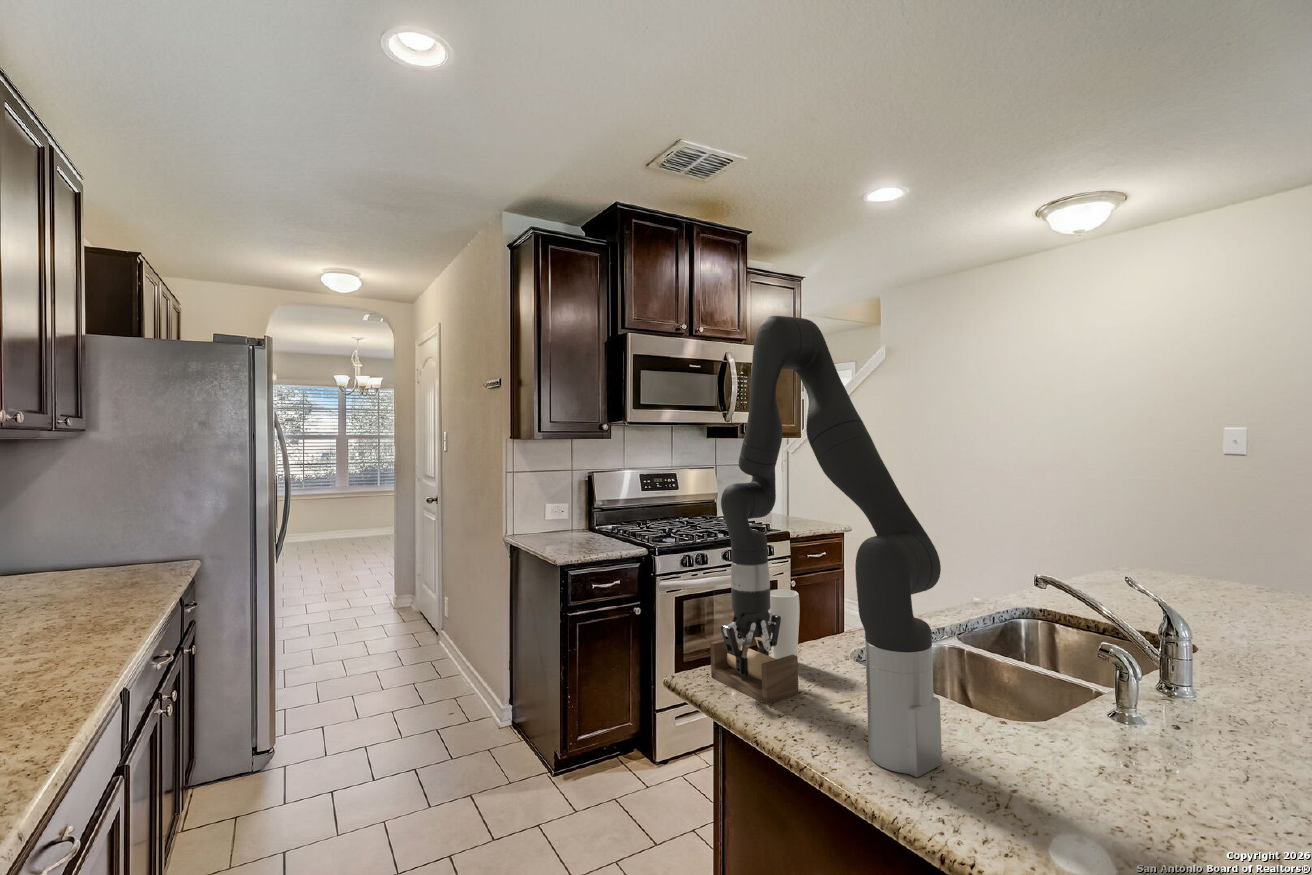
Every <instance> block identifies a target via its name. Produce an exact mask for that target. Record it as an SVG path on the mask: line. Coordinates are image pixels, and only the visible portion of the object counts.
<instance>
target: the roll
mask: <svg viewBox="0 0 1312 875" xmlns="http://www.w3.org/2000/svg"><path fill="white" fill-rule="evenodd" d="M741 650H742V646H741ZM773 660H776V659H775V658H772V656H770V655H769V656H767V655H765V654H762V653H760V652H757V650H754V649H752V648H750V647H748V652H747V661H748V674H749V675H751V676H753V677H755V678H757V679H760V680H762V666H761V664H763V663H766V662H769V661H773ZM727 662H728V664H729V665H730V666H731V667H733V668H735V669H736V657H735V656H733V655H731V654H728V653H727Z"/></svg>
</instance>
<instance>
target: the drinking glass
mask: <svg viewBox="0 0 1312 875" xmlns="http://www.w3.org/2000/svg"><path fill="white" fill-rule="evenodd" d="M770 604H771V607H770V609H769V610H768V612H769V614H770V613H772V614H775V615H778V616H780V617H781V622H780V628H779V634H778V641H777V645H776V646H772V647H771V649H770V651H771V657H772V658H775V659H779V658H783V657H786V656H789V655H796V656H798V650H799V649H798V648H799V629H800V628H799V627H800V611H801V609H800V596H799V593H798V592H797V591H796V590H793V589H792V590H791V589H783V588H782V589H770ZM771 639H772V633H771ZM798 657H799V656H798Z"/></svg>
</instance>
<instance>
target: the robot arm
mask: <svg viewBox="0 0 1312 875" xmlns="http://www.w3.org/2000/svg"><path fill="white" fill-rule="evenodd" d="M751 359H752V360H751V361H752V362H751V372H750V373H751V376H750V388H749V389H750V390H749V391H750V392H749V406H748V416H747V421H746V427H745V433H744V435H743V436H744V437H743V441H742V443H741V444H742V445H741V449H740V453H739V457H738V466H739V469H740V470H741V472H743V473H744V474H747V475H748V476H751V481H750V482H742V483H741V482H740V483H733V484H732V483H731V484H728V485H727V486H726V487H725V488H724V490H723V491H722V494H721V498H720V507H721V512H722V515H723V518H724V521H725V525H726V530H727V533H728V536H729V540H730V544H731V545H730V547H731V548H730V550H731V551H730V552H731V567H730V568H731V569H730V591H731V592H730V593H731V594H730V595H731V596H730V597H731V608H732V610H733V617H732V622H730V623H729V624H727V625H726V624H722V625H721V626H720V630H721V635H722V638H723V639H724V643H725V647H726V651H727V653H728V654H731V655H733V656H735V657H736V671H737V673H738V674H739V675H740V676H742V677H747V676H748V661H747V652H748V648H750V647H751V645H752V641H753V639H754V640H755V642H756V645H757V648H758V649H756V651H757V652H760V653H762V654H765V655H767V656H770V655H769V654H770V651H771V647H772V646H776V645H777V641H778V634H779V628H780V622H781V617H780V616H778V615H775V614H772V613H770V614H769V612H768V610H769V609H770V607H771V604H770V591H771V582H770V581H771V580H770V579H771V577H770V576H771V575H770V569H769V568H770V567H769V557H768V556H769V555H768V554H769V553H768V552H769V551H768V538H767V535H766V534H765V533H764V532H763V531H761V530H756V529H752V528H751V525H750V522H749V519H760V518H764V517H766V516H769V514H771V512H772V511H773V509H774V507H775V505H776V504H775V503H776V498H777V493H776V492H777V490H776V465H777V461H778V458H779V454H780V450H781V448H782V447H781V446H782V441H783V423H782V418H781V415H780V411H779V407H778V403H777V385H778V381H779V378H780V375H781V372H782V369H783V370H793V371H794V372H796V374H797V375H798V377H799V378H800V381H801V383H802V385H803V387H804V389H805V392H806V395H807V397H808V398H807V400H808V408H807V415H806V437H807V440H808V443H809V446H810V448H811V449H812V453H814V456H815V458H816V461H817V462H818V465H819V467H820V468H821V470H822V472H823V474H825V476H826V477H827V478H828V479H829V481H831V483H832V484H833V485H834V486H835V487H837V489H839V490H840V491H841V492H842V493H843V494H844V495H845V496H847V498H849V500H851V501H852V502H853V503H854V504H855V505H856V506H857V507H858V508H859V509H860V510H861V511H862V513H863V514H864V516H866V518H867V520H868V522H869V523H870V525H871V527H872V529H873V530H874V533H875V534H876V535H875V536H871V537H867V538H866V539H865V540H864V541H863V542H861V543H860V546H858V549H857V553H856V556H855V568H854V569H855V584H856V585H855V586H856V596H857V607H858V615H859V618H860V622H861V624H862V627H863V629H864V636H865V637H864V638H865V639H864V640H865V643H864V644H865V647H864V648H865V676H866V677H865V680H866V701H867V702H866V707H867V709H866V710H867V712H866V713H867V734H868V735H867V736H868V738H867V739H868V755H869V757H870V759H871V760H872V761H873V762H874V763H875V764H877V765H878V766H879V767H881V768H883V769H886V770H889V771H892V772H895V773H899V774H906V775H910V776H913V777H915V778H919V777H921V776H923V775H925V774H927V773H928V772H931V771H932V770H934V769H936V768H937V767H939V766H941V765H942V764H943V754H942V748H943V747H942V725H941V724H942V723H941V722H942V721H941V719H942V718H941V716H942V715H941V701H940V699H939V697H936V696H934V674H933V671H934V670H933V669H934V668H933V665H934V664H933V637H932V629H931V626H930V625H929V623H927V622H926V621H924V620H922V619H921V618H918V617H915V616H914V611H913V602H912V595H915V594H919V593H923V592H927V591H928V590H930V589H932V588H934V587H935V586H936V585H937V583H938V581H939V580H940V576H941V570H942V566H941V560H940V557H939V553H938V551H937V549H936V546H935V545H934V542H933V541H932V539H931V538H930V536H929V535H928V533H927V532H926V531H925V528H924V527H923V525H922V524H921V523H920V522H919V520H918V518H917V517H916V516H915V514H914V512H913V511H912V510H911V508H910V507H909V505H908V504H907V502H906V500H905V499H904V497H903V496H902V494H901V492H900V490H899V488H898V487H897V484H896V483H895V481H894V479H893V477H892V475H891V474H890V471H889V470H888V468H887V466H886V464H885V463H884V461H883V459H882V457H881V455H880V453H879V451H878V449H877V448H876V445H875V443H874V440H873V439H872V436H871V434H870V433H869V431H868V429H867V428H866V427H867V426H866V425H865V424H864V421H863V420H862V418H861V416H860V414H859V413H858V411H857V409H856V408H855V405H854V403H853V402H852V400H851V397H850V395H849V393H848V391H847V389H846V387H845V385H844V384H843V382H842V379H841V378H840V377H841V376H840V375H839V372H838V371H837V368H836V365H835V362H834V360H833V358H832V355H831V353H830V350H829V346H828V344H827V342H826V339H825V337H824V335H823V333H822V331H821V329H820V328H819V326H818V325H817V324H816V323H815V322H813V321H812V320H811V319H807V318H802V317H795V316H794V317H793V316H784V315H771V316H768V317H766V318H765V319H763V321H761V323H760V325H758V328H757V331H756V333H755V337H754V342H753V349H752V358H751ZM771 633H772V639H771ZM742 637H743V638H744V640H743V639H742ZM741 646H742V650H741Z"/></svg>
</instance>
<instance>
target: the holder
mask: <svg viewBox="0 0 1312 875" xmlns="http://www.w3.org/2000/svg"><path fill="white" fill-rule="evenodd" d="M742 639H743V640H745V638H743V637H742ZM709 645H710V670H711V671H710V672H711V675H710V676H711V678H713V679H714V680H717V681H719V682H720V683H722V684H725V685H727V686H729V687H731V688H733V689H735V690H736V691H739V692H740V693H743V694H744V695H747V696H749V697H751V698H753V697H754V698H753V699H754V700H757V701H759V702H761V701H762V702H761V703H763V702H764V703H763V704H765V705H771V704H772V702H773V703H776V702H779V701H781V700H784V698H785V699H788V698H789V697H790V698H791V697H792V696H793V697H794V696H795V695H796V696H797V695H799V694H798V693H799V688H800V687H799V663H798V662H799V661H798V660H799V659H798V657H799V656H796V655H789V656H786V657H783V658H779V659H776V660H773V661H769V662H766V663H763V664H761V666H762V680H760V679H757V678H755V677H753V676H751V675H749V674H748V676H747V677H742V676H740V675H739V674H738V673H737V671H736V669H735V668H733V667H731V666H730V665H729V664H728V662H727V651H726V647H725V643H724V639H719V640H715V641H711V642H710V643H709ZM787 697H788V698H787ZM775 701H776V702H775Z"/></svg>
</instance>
